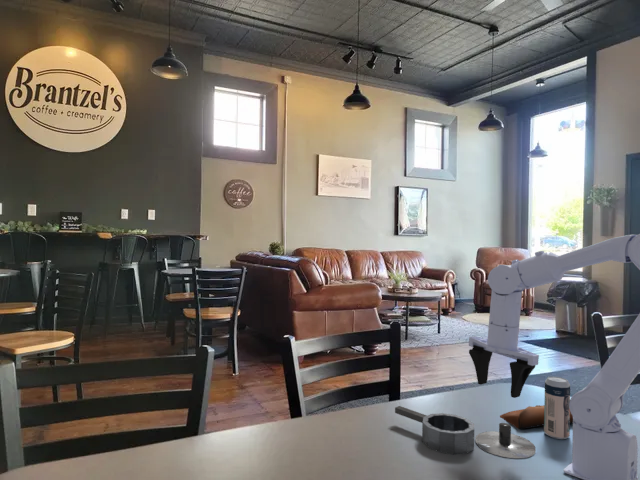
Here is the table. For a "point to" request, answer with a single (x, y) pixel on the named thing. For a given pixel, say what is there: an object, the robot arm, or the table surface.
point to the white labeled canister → (557, 408)
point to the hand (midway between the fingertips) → (498, 389)
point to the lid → (505, 443)
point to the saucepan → (443, 431)
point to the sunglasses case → (527, 417)
